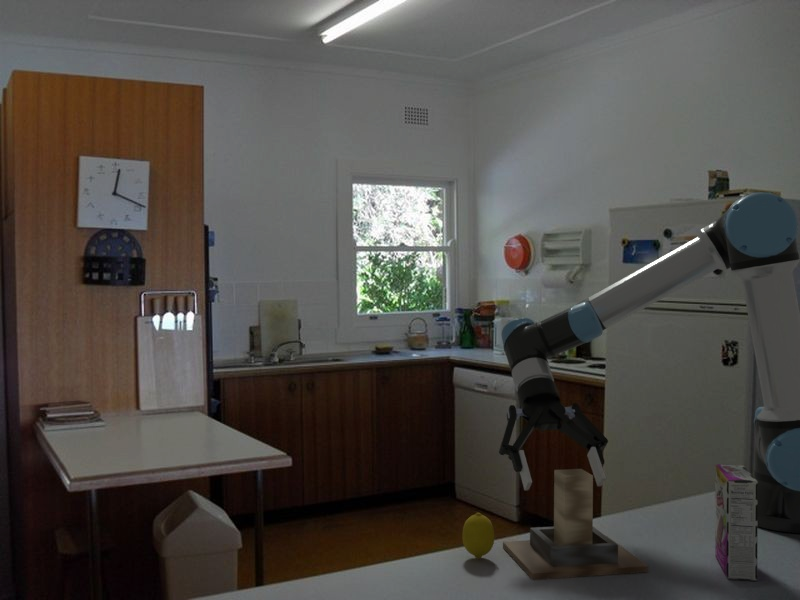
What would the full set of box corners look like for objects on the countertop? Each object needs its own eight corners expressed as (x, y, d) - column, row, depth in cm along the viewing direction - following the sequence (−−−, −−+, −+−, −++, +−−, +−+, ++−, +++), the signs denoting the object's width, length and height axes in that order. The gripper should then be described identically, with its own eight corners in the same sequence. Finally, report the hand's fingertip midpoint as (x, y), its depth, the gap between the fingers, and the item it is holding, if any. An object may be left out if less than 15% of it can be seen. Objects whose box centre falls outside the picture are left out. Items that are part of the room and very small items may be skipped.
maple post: (580, 547, 144) (581, 468, 143) (592, 557, 139) (593, 475, 138) (553, 549, 143) (554, 469, 142) (564, 558, 138) (565, 476, 137)
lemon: (500, 558, 141) (500, 512, 141) (481, 566, 137) (481, 519, 137) (475, 551, 145) (475, 506, 144) (455, 558, 141) (455, 512, 140)
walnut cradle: (607, 541, 150) (607, 519, 150) (648, 572, 134) (648, 548, 134) (502, 547, 147) (503, 525, 147) (532, 579, 131) (532, 554, 131)
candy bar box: (712, 556, 142) (714, 463, 142) (743, 558, 141) (744, 464, 141) (725, 580, 131) (726, 478, 131) (758, 582, 130) (759, 480, 130)
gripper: (590, 397, 162) (624, 491, 147) (469, 401, 157) (492, 499, 143) (602, 373, 156) (638, 469, 142) (476, 377, 152) (501, 476, 137)
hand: (565, 484), depth 142 cm, fingers open, 13 cm apart
